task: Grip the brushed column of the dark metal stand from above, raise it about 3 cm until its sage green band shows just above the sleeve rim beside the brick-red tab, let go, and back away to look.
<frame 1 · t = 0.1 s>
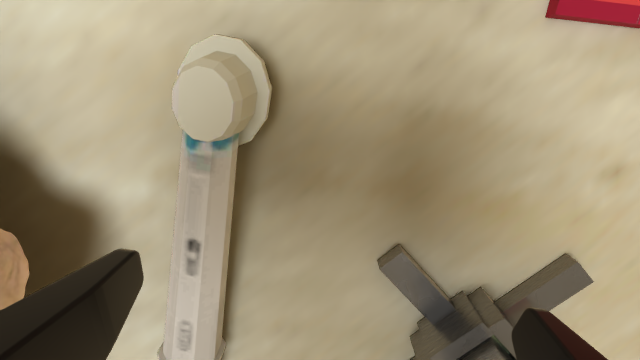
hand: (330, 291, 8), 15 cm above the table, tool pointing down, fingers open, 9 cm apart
stand: (465, 335, 26), on the table
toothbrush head: (219, 224, 25), on the table
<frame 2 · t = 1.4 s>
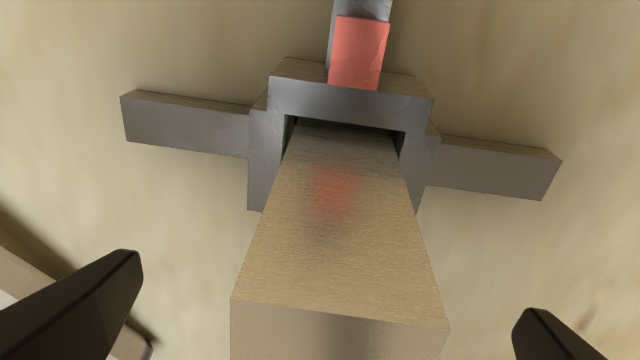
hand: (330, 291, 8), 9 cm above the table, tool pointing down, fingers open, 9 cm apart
stand: (338, 140, 16), on the table
column: (334, 210, 11), point 6 cm above the table, slide at 0.0 cm
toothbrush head: (1, 215, 20), on the table
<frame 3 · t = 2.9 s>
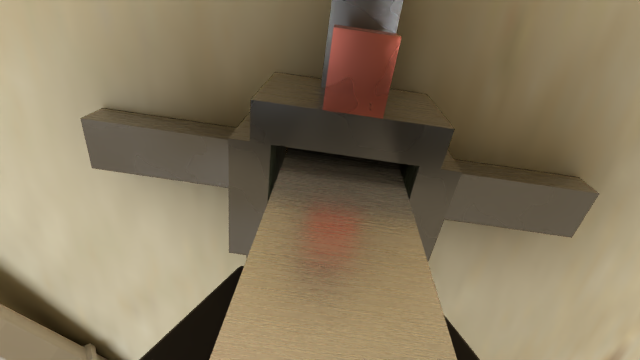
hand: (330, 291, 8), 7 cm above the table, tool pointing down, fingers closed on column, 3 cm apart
stand: (336, 165, 14), on the table
column: (331, 267, 9), point 6 cm above the table, slide at 0.0 cm, touching gripper
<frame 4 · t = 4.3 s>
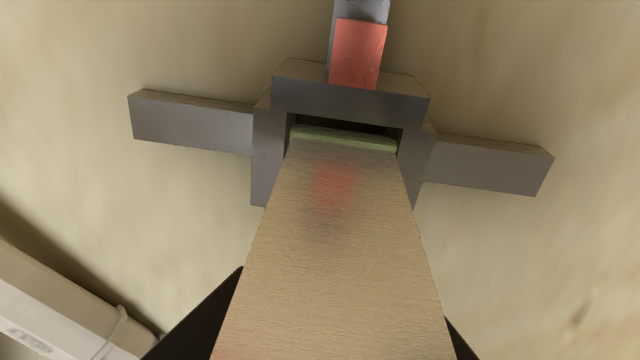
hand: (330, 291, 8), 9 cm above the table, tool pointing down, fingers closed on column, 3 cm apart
stand: (338, 137, 16), on the table
column: (331, 267, 9), point 9 cm above the table, slide at 2.9 cm, touching gripper
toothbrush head: (9, 215, 21), on the table
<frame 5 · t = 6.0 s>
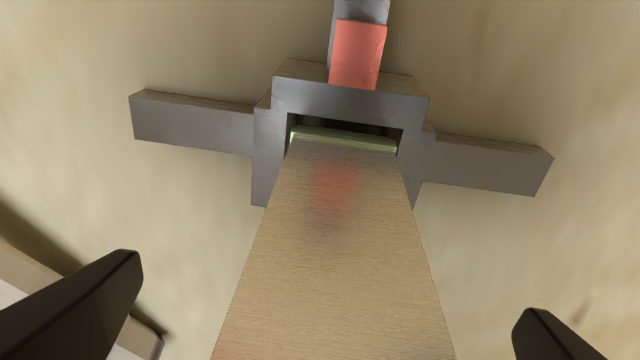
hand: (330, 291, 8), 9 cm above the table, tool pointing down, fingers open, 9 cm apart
stand: (338, 138, 16), on the table
column: (331, 267, 9), point 9 cm above the table, slide at 2.9 cm
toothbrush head: (10, 217, 21), on the table
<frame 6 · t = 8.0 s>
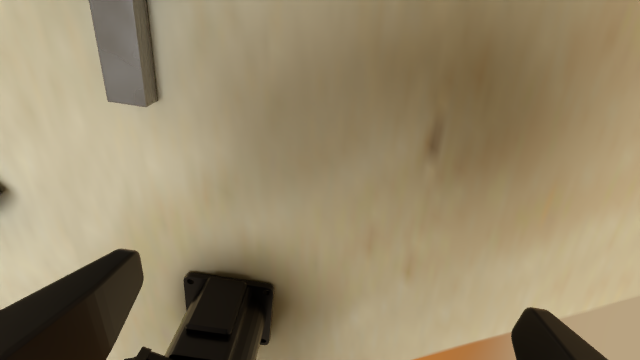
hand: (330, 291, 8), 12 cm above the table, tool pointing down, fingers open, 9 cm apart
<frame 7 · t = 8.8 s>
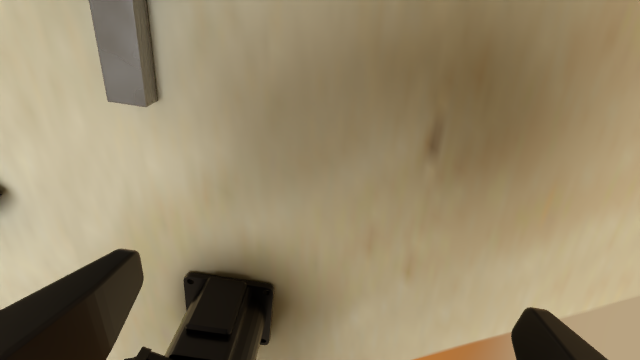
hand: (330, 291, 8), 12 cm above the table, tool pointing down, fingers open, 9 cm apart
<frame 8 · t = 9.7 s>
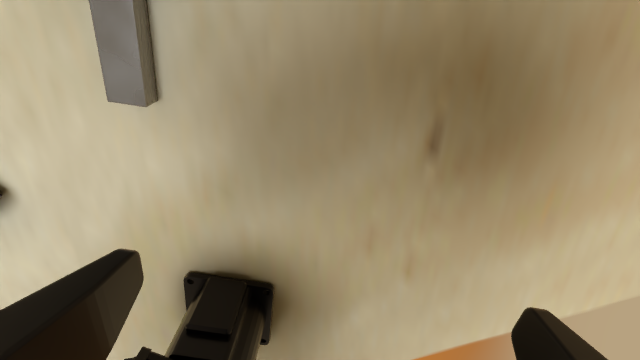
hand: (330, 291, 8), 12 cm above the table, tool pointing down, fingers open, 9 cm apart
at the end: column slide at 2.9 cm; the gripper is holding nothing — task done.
